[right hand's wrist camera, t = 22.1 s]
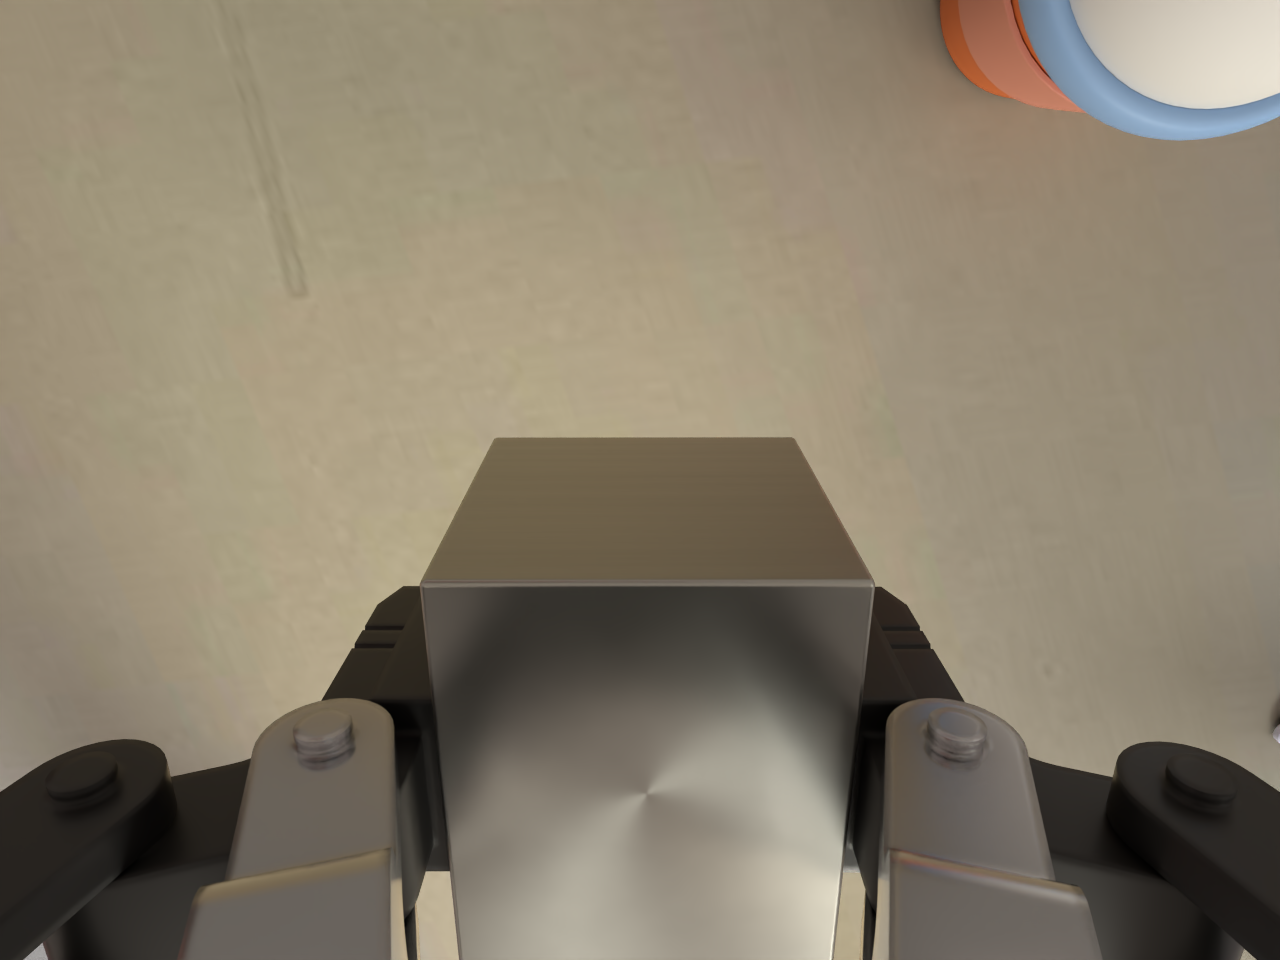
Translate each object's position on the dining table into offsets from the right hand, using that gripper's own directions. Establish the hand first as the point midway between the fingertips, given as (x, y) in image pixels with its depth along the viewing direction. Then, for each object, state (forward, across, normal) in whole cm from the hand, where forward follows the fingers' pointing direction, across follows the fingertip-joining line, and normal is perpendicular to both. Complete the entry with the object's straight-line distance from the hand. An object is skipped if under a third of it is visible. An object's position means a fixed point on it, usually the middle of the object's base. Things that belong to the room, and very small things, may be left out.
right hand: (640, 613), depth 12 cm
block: (0, 0, 0) cm, 0 cm away
